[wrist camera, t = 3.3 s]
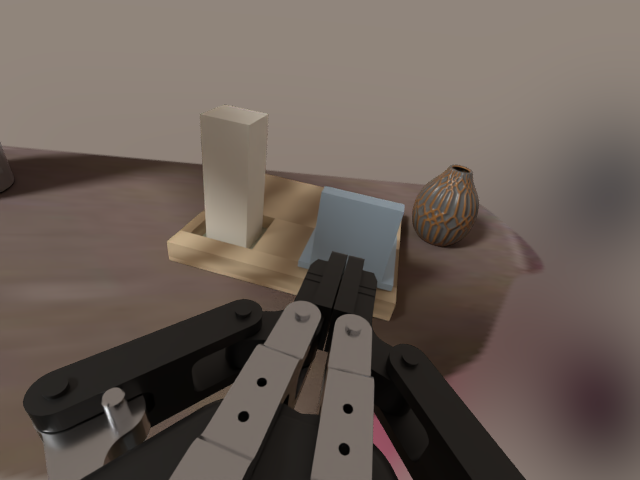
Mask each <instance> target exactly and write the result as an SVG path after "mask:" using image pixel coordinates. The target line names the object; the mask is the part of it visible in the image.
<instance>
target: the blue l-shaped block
mask: <svg viewBox="0 0 640 480" xmlns="http://www.w3.org/2000/svg"><path fill="white" fill-rule="evenodd" d="M403 214H404V204H400V203H395V202H391V201H387V200H383V199H379V198H374V197H370V196H366V195H362V194H357V193H353V192H349V191H345V190H340V189H336V188H332V187H328V186H325V187H324V189H323V190H322V192H321V198H320V205H319V211H318V217H317V223H316V227H315V229H314V231H313V233H312V235H311V237H310V239H309V241H308V243H307V245H306V247H305V249H304V251H303V253H302V255H301V257H300V258H299V260H298V267H302V268H306V269H309V267H310V265H311V264H312V263H313V262H315V261H316V260H317V259H321V260H325V261H328V260H329V258H330V255H331V253H332V251H334V252H338V253H342V254H346V255H348V257H349V255H351V256H355V257H359V258H363V259H365V261H364V266H363V270H364V271H368V272H372V273H374V274H375V277H376V279H377V281H378V282H377V288H380V289H384V290H388V291H392V288H393V282H394V269H395V257H396V245H397V236H396V235H397V232H398V229H399V226H400V223H401V220H402V217H403ZM348 257H347V261H348ZM346 264H347V262H346ZM345 268H346V266H345ZM344 271H345V270H344Z"/></svg>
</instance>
